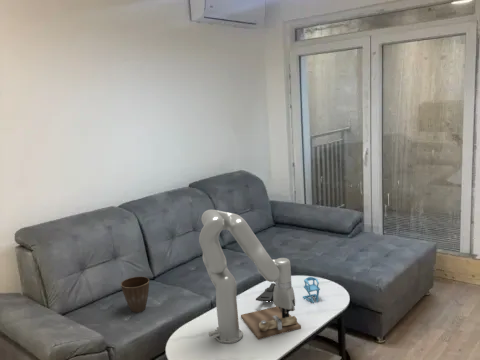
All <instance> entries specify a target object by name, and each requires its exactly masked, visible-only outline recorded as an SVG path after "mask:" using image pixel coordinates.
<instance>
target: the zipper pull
mask: <svg viewBox="0 0 480 360" xmlns="http://www.w3.org/2000/svg"><path fill="white" fill-rule="evenodd" d="M270 283H271V284H270V285H269V287H267V288H265V289H264V291H263V292H262V293H261V294H259V296H257V297H256V298H255V301H258V302H264V301H268V302H267V303H271V302H270V301H273V293H274V286H275V285H276V283H275V282H270Z"/></svg>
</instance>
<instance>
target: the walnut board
mask: <svg viewBox="0 0 480 360" xmlns="http://www.w3.org/2000/svg"><path fill="white" fill-rule="evenodd" d="M275 315H277V316H278V318H279V319H281V318H282V312H281V311H280V309H279V307H277V306H272V307H269V308H263V309H260V310H256V311H250V312H247V313H241V314H240V318H241V320H242V319H243V320H242V321H243V322H244V324H245V325H246V326H247V328H248V329H249V330H250V331H251V332H252V334H253V335H254V337H255V338H256V339H257V340H262V339H266V338H270V337H274V336H277V335H281V334H282V335H283V334H285V333H290V332H293V331H296V330H301V329H302V325H301V324H300V323H299V322H298V321H297V324H292V325H287V326H282V330H279V331H278V330H277V328H273V329H268V330H267V331H261V330H260V329H259V323H260V322H261V321H263V320H265V321H266V322H267V321H271V320H274V319H273V317H272V316H275ZM291 316H292V314H290V313H289V317H291Z"/></svg>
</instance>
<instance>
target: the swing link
mask: <svg viewBox="0 0 480 360" xmlns="http://www.w3.org/2000/svg"><path fill="white" fill-rule="evenodd" d="M280 320H281V321H282V326H287V325H292V324H297V322H298V318H297V317H296V316H295V315H291V317H286V318H281V319H280ZM273 328H277V324H276V321H275V320H271V321H267V322H266V324H261V322H260V323H259V329H260V330H261V331H267V330H268V329H273Z"/></svg>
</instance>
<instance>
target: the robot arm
mask: <svg viewBox="0 0 480 360" xmlns="http://www.w3.org/2000/svg"><path fill="white" fill-rule="evenodd" d="M201 223H202V225H203V227H202V228H201V230H200V233H199V237H198V242H199V246H200V248H201V251H202V252H201V253H202V262H203V264H204V266H205V269H206V271H207V274H208V276H209V279H210V280H211V283H212V284H213V286H214V289H215V304H216V305H215V306H216V315H217V325H218V327H216V329H215V330H214V331H209V332H208V336H209V337H213V339H214V338H215V339H216V341H218V342H219V343H220V344H234V343H236V342H239V341H241V339H242V338H243V336H244V333H243V331H242V330H241V329H240V326H239V325H240V323H239V315H238V311H239V310H238V302H237V290H238V288H237V287H238V286H237V282H236V278H235V277H234V275H233V273H231V271H230V270H229V269H228V268H229V267H228V266H227V264H228V263H227V262H228V261H227V258H226V256H225V254H224V250H223V248H222V246H221V243H220V240H219V238H220V235H221V234H220V233H221V232H222V231H224V230H226V231H228V232H230V234H231V235H232V236H233V238H234V239H235V242H237V243H238V245H239V246H240V248H241V249H242V251H243V252H244V254H245V255H246V256H247V257H248V258H249V259H250V260H251V262H253V264H254V265H255V266H256V269H257V271H258V273H259V275H261V276H262V277H263V278H264V279H265V280H266V281H268V282H270V283H275V284H276V285H275V286H274V293H273V302H272V303H273V305H274V307H276V306H277V307H279V309H280V311H281V312H282V318H286V317H289V314H290V312H294V311H296V309H295V306H296V297H295V296H296V295H295V292H294V287H293V285H292V271H291V270H292V269H291V267H292V266H291V261H290V259H289V258H287V257H279V258H275V259H272V257H271V256H270V254H269V253H268V252H267V250H266V248H265V247H264V246H263V244H262V243H261V241H260V240H259V238H258V237H257V236H256V234H255V233H254V231H253V230H252V227H250V225H249V224H248V223H247V221H246V220H245V219H244V218H243V217H242V216H240V215H239V214H237V213H233V212H228V211H222V210H218V209H207V210H205V211H204V212H203V213H202V215H201Z"/></svg>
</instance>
